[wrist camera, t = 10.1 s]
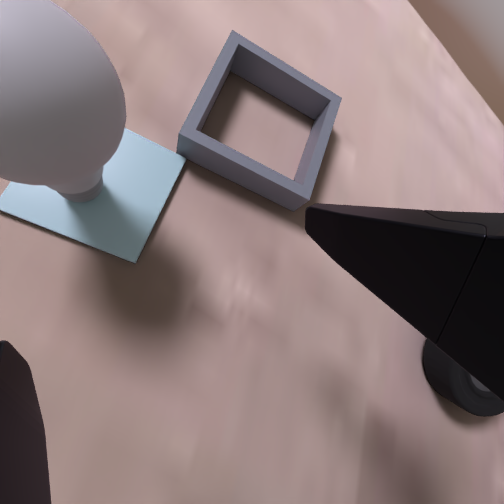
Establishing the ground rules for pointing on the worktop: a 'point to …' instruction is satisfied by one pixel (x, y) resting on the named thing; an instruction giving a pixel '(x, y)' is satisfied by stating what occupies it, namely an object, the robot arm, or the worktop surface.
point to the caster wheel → (459, 384)
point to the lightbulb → (56, 101)
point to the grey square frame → (280, 86)
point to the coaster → (106, 200)
